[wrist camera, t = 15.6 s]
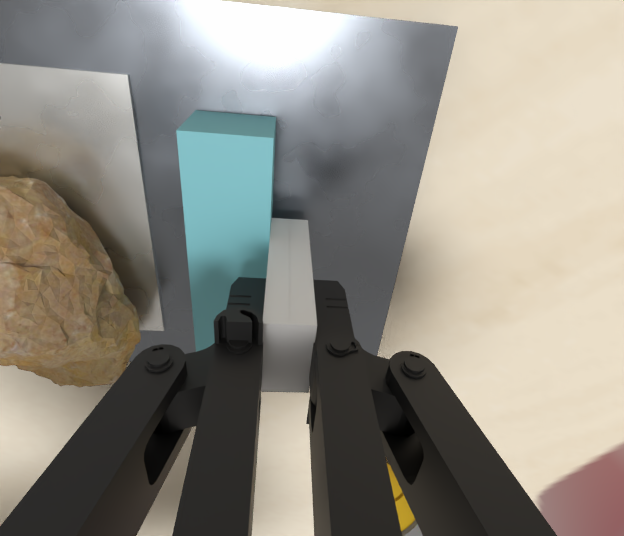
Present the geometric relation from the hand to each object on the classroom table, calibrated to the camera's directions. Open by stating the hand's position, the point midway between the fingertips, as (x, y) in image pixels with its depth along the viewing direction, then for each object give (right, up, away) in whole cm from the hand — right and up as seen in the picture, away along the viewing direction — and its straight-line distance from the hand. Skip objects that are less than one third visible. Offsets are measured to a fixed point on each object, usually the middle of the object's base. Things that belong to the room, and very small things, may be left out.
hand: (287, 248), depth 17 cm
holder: (-7, +2, +1) cm, 7 cm away
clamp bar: (-2, +1, +1) cm, 3 cm away
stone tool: (-15, +1, -1) cm, 15 cm away
